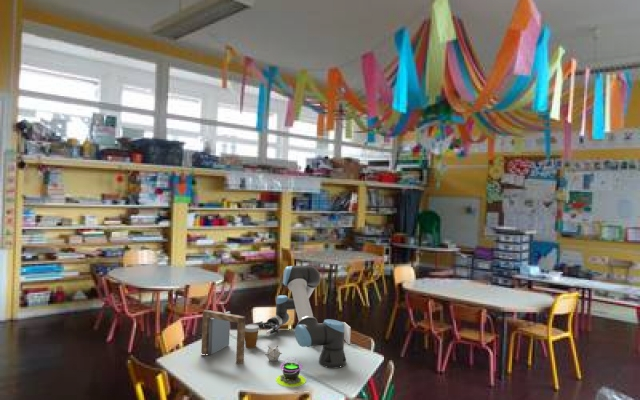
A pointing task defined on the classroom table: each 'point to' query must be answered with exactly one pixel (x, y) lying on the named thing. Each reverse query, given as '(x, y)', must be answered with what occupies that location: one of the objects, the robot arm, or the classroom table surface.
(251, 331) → the disposable coffee cup
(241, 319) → the door frame
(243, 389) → the classroom table surface
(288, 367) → the toy cauldron
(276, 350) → the game die
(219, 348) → the door
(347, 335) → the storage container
